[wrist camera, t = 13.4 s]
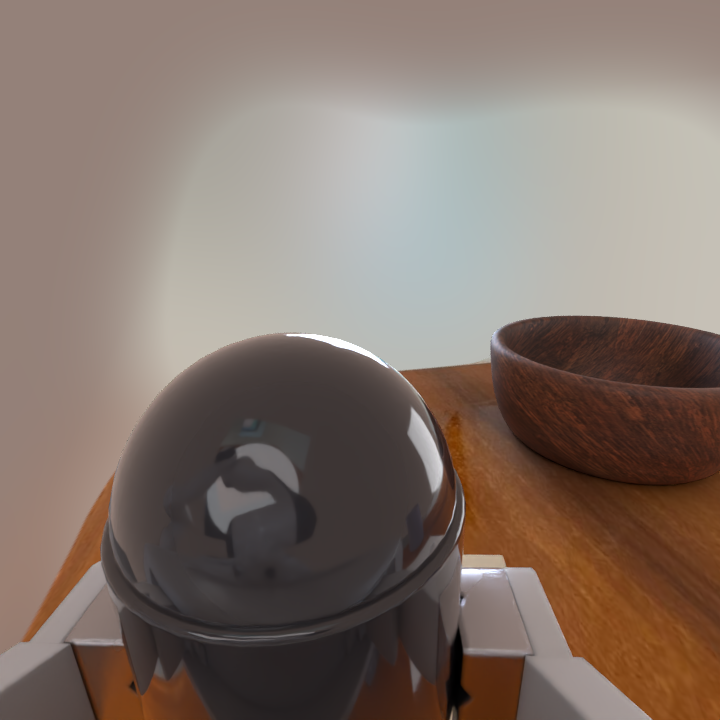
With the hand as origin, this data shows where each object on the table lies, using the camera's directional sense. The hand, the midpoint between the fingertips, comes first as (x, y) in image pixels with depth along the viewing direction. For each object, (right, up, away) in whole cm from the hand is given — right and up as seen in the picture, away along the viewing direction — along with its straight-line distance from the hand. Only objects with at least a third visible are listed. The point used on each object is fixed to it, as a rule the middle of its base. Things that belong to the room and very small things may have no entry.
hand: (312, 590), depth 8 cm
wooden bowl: (+27, -4, +39) cm, 48 cm away
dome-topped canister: (0, -5, +1) cm, 5 cm away
